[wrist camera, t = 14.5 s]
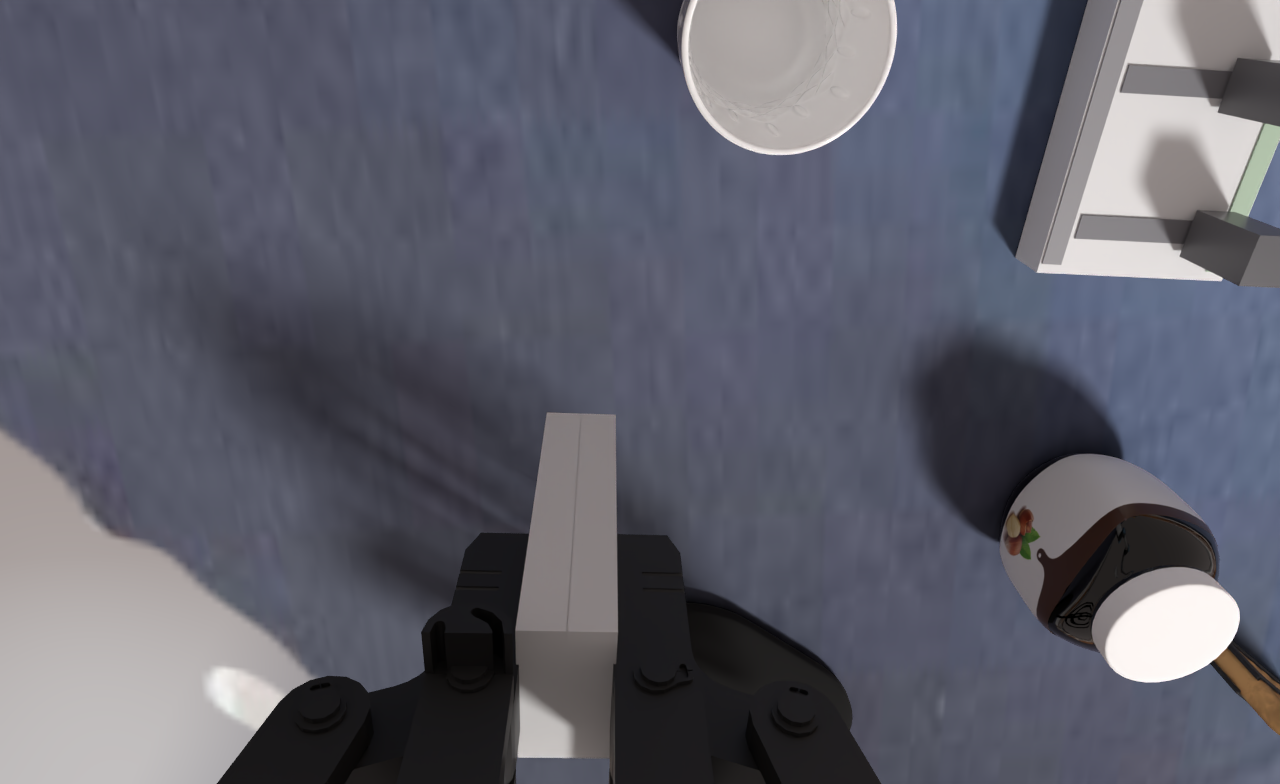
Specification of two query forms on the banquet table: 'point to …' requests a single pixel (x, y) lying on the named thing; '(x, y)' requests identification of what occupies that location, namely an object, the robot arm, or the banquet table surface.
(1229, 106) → the handle
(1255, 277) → the handle
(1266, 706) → the ammunition clip
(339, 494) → the banquet table surface
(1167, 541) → the spread jar
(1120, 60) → the breaker panel
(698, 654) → the desk fan
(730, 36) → the white cup
